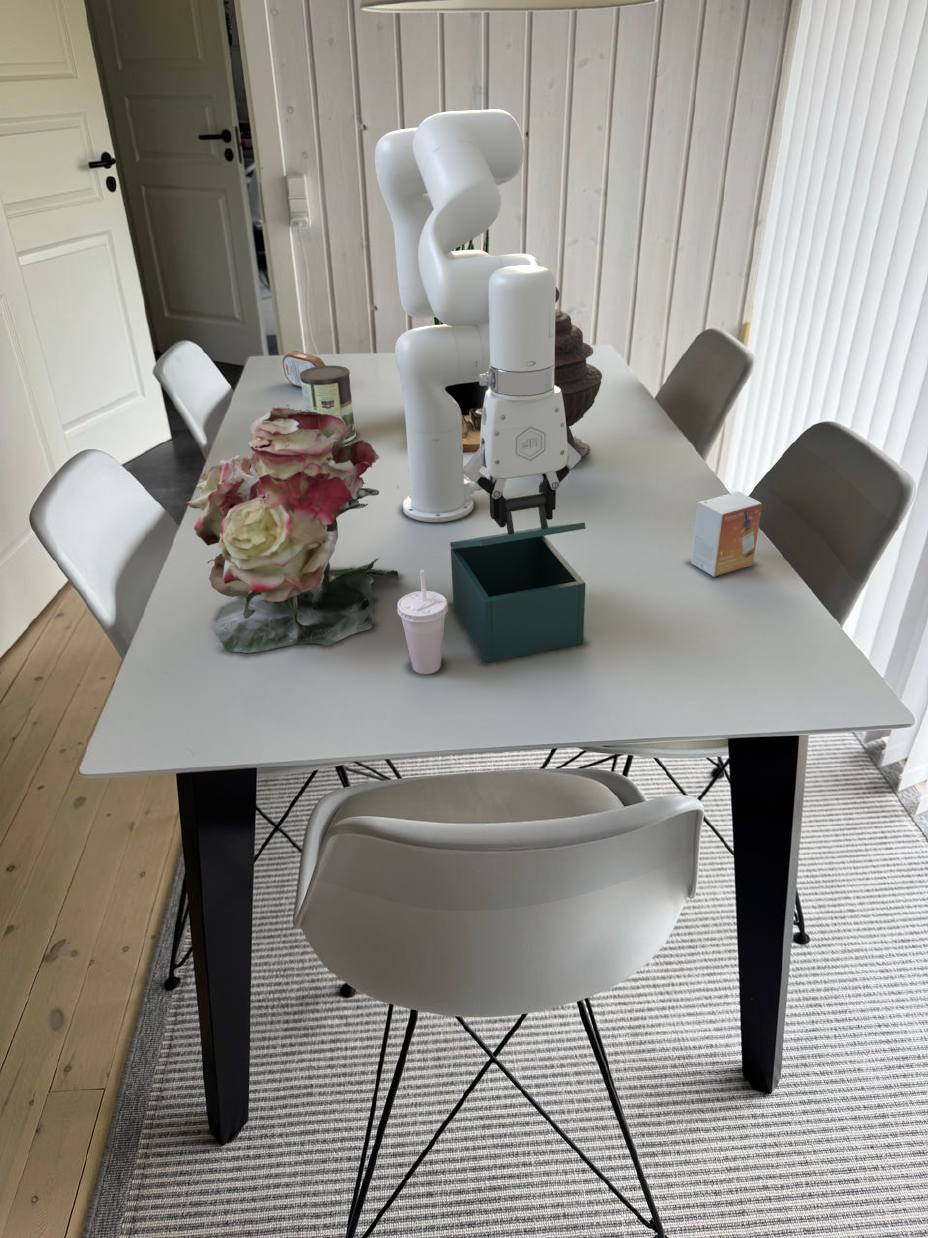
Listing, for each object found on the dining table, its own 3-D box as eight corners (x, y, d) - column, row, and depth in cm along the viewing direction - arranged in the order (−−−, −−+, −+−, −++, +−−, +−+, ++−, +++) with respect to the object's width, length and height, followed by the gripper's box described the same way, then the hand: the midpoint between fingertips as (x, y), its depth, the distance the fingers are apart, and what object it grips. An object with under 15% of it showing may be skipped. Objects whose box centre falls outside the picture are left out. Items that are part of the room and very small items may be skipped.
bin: (583, 643, 122) (585, 583, 117) (486, 663, 119) (484, 601, 114) (541, 589, 135) (542, 532, 130) (453, 605, 132) (450, 547, 127)
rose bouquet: (222, 570, 144) (185, 384, 128) (405, 567, 142) (390, 379, 127) (173, 661, 122) (121, 450, 106) (388, 659, 121) (368, 444, 105)
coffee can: (342, 425, 200) (335, 361, 193) (364, 438, 193) (358, 372, 186) (299, 436, 195) (291, 371, 188) (321, 449, 188) (312, 382, 181)
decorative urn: (594, 431, 189) (594, 257, 169) (609, 475, 173) (611, 287, 153) (497, 439, 190) (486, 267, 170) (503, 484, 173) (491, 298, 153)
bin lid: (585, 528, 114) (579, 485, 113) (481, 546, 111) (474, 502, 110) (542, 532, 130) (537, 495, 130) (450, 547, 127) (444, 509, 126)
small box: (713, 578, 136) (721, 514, 131) (689, 563, 141) (696, 501, 135) (754, 565, 139) (763, 502, 134) (729, 551, 144) (737, 489, 138)
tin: (332, 391, 222) (328, 357, 217) (322, 395, 220) (318, 360, 215) (292, 381, 230) (288, 347, 226) (283, 384, 228) (278, 350, 224)
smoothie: (458, 658, 120) (454, 565, 113) (437, 684, 115) (431, 589, 108) (416, 648, 123) (409, 557, 115) (393, 673, 118) (384, 579, 110)
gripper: (461, 396, 101) (466, 542, 111) (602, 378, 105) (596, 520, 114) (443, 379, 107) (450, 518, 117) (577, 362, 111) (573, 498, 121)
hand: (522, 518), depth 116 cm, fingers closed on bin lid, 5 cm apart
